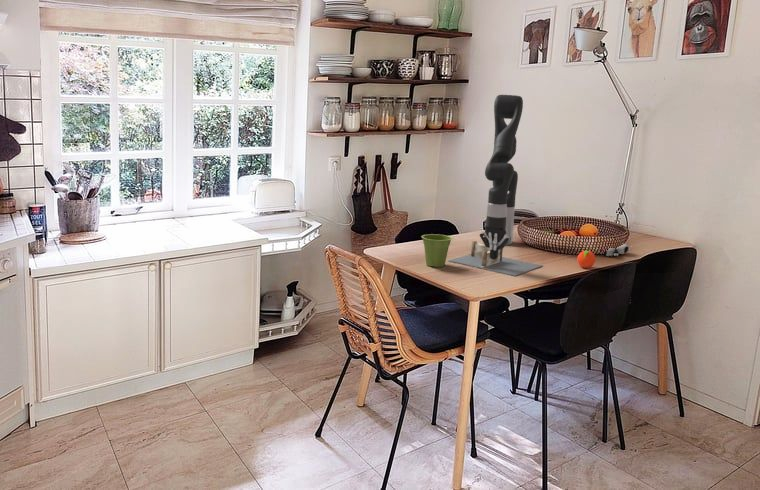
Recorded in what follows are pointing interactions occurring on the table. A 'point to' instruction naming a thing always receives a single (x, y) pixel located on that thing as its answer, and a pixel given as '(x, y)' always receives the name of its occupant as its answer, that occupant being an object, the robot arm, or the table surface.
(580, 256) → the clementine
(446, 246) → the plant pot
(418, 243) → the table surface
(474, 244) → the fixed fence section
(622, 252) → the robot toy
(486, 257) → the swinging fence section
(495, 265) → the card
